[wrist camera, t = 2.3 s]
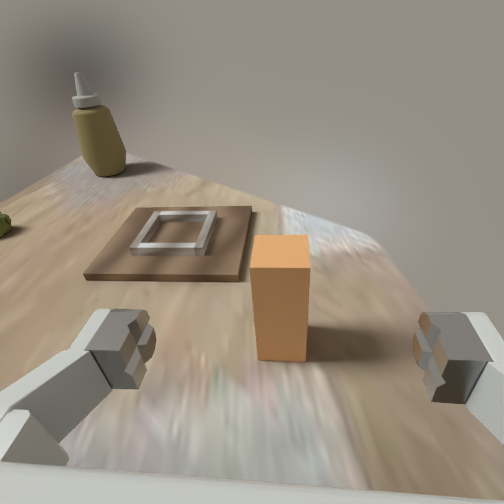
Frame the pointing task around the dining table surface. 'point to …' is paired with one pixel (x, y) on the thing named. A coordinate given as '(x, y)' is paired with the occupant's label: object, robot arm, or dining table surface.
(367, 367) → the dining table surface
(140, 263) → the collar board
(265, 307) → the orange peg
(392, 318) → the dining table surface
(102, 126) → the squeeze bottle
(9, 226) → the pear
